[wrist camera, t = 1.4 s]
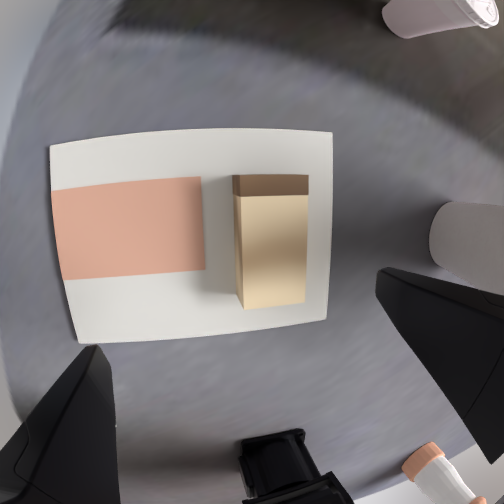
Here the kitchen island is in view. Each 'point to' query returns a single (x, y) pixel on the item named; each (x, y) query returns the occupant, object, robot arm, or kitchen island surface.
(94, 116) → the kitchen island surface
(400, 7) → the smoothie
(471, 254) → the coffee cup
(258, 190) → the wooden block
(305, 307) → the mat
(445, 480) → the salt shaker
